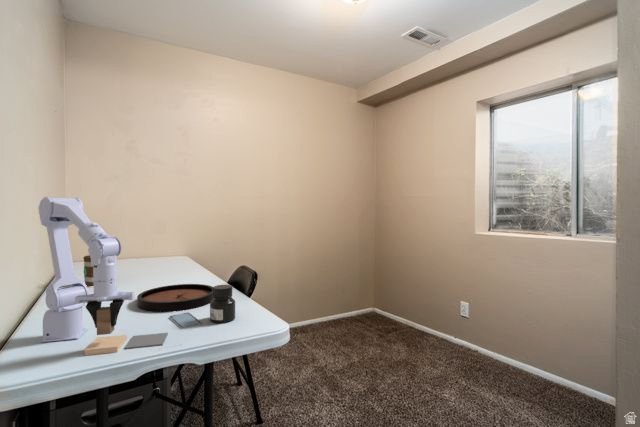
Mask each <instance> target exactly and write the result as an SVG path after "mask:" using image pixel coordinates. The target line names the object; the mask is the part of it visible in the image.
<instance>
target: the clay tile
mask: <svg viewBox="0 0 640 427" xmlns="http://www.w3.org/2000/svg"><path fill="white" fill-rule="evenodd" d="M127 335H128V334H120V335H119V334H118V335H110V336H100V337H96V338H95V339H94V340H93V341H92V342H91V343H90V344H89V345H88V346H87V347H86V348H85V349H84V356H93V355H94V356H95V355H101V354H102V355H103V354H111V353H112V354H113V353H118V352H119V351H120V349H121V348H122V347H123V346H124V344H125V342H126V341H127V340H128V339H127V338H128V337H127Z"/></svg>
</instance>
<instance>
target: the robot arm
mask: <svg viewBox="0 0 640 427" xmlns="http://www.w3.org/2000/svg"><path fill="white" fill-rule="evenodd" d="M38 214H39V219H40V224H41V226H43V227H46V231H47V237H48V243H49V248H50V255H51V259H52V266H53V272H54V280H53V281H51V282H50V283H49V284H48V285H47V286H46V288H45V304H46V307H47V308H48V309H47V310H46V311H45V312H44V314H43V318H42V340H41V342H42V343H47V342H58V341H69V340H77V339H79V338H80V337H81V336H83V335H84V334H85V333H86V332H87V331H88V328H83V307H84V306H85V309H86V310H87V312H88V313H89V314H90V316H91V318H92V320H93V324H94V327H95V329H97V310H98V309H99V308H100V307H102V304H103V303H102V302H110V303H109V307H110V309H111V327H112V326H114V327H115V326H116V325H117V320H118V317H119V313H120V310H121V308H122V306H123V304H124V301H133V300H135V291H128V292H127V291H118V267H117V266H118V265H117V264H118V259H117V258H118V256H120V254H121V253H122V243H121V240H120V239H119V238H118V237H117V236H112V235H109V234H108V233H106V231H105V230H104V229H103V228H102V227H101V226H100V225H99V223H98V222H95V221H94V222H93V221H91V219H89V217H88V216H87V213H86V212H85V211H84V203H83V202H82V200H81V199H80V198H79V197H48V196H46V197H42V199H41V200H40V201H39V205H38ZM71 225H74V226H75V227H77V229H78V233H77V235H78V237H80V239H81V240H82V241H83V242H84V243H85V244H86V246H87V247H88V248H87V252H88V255H90V258H91V263H92V265H93V279H94V281H93V282H94V287H93V293H90V290H89V287H87V286H86V284H85V281H84V279H83V278H82V277H79V276H77V275H76V272H75V267H74V260H73V256H72V250H71V245H70V244H71V243H70V238H69V232H68V228H69V227H70V226H71ZM85 304H86V305H85Z"/></svg>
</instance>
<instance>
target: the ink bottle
mask: <svg viewBox="0 0 640 427" xmlns="http://www.w3.org/2000/svg"><path fill="white" fill-rule="evenodd" d="M212 287H213V298H214V299H213V300H212V301H211V302H210V304H209V320H210V321H211V322H212V323H216V324H224V323H225V324H226V323H229V322H232V321H234V320H235V319H236V300H235V299H234V298H233V285H231V284H218V285H215V286H212Z"/></svg>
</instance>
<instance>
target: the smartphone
mask: <svg viewBox="0 0 640 427" xmlns="http://www.w3.org/2000/svg"><path fill="white" fill-rule="evenodd" d="M168 318H169V320H171V321H172V322H173V323H174V324H175V325H176V326H177V327H178V326H179V327H178V328H179V329H182V330H185V329H188V328H189V329H190V328H192V327H198V326H201V325H203V322H202V321H200V319H198V318H197V317H196V316H194V315H193V314H192V313H191V312H183V313H178V314H172V315H169V317H168Z"/></svg>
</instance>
